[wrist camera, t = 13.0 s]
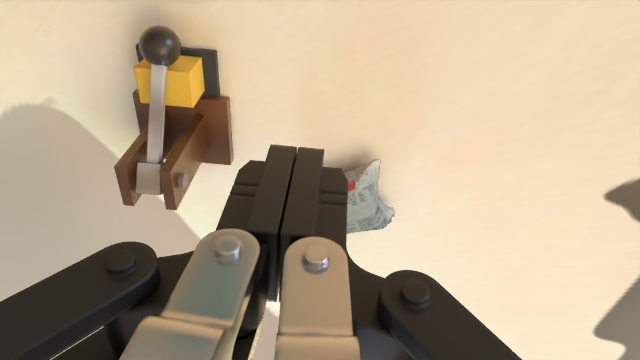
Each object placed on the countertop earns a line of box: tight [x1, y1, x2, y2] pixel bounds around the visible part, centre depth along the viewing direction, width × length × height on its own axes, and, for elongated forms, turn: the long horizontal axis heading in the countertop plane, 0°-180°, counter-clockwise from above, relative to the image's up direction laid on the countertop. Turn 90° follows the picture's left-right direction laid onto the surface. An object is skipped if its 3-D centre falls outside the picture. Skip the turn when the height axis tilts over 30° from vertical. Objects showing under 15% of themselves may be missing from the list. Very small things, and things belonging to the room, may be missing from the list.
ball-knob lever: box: [136, 26, 181, 195], centre depth 40 cm, size 15×4×4 cm, turn 175°
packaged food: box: [343, 159, 395, 234], centre depth 51 cm, size 9×12×5 cm
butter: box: [134, 43, 220, 108], centre depth 43 cm, size 5×8×5 cm, turn 86°
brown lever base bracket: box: [114, 89, 233, 210], centre depth 44 cm, size 8×10×12 cm
